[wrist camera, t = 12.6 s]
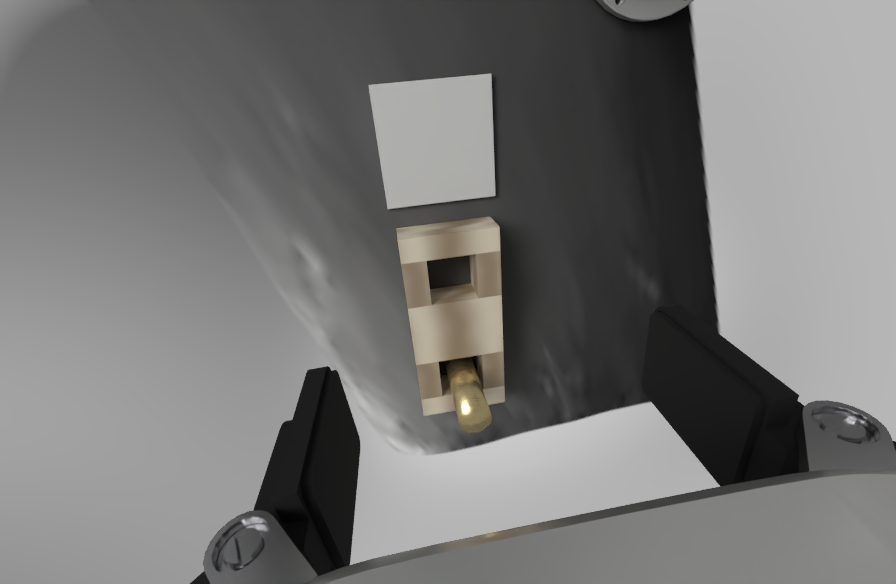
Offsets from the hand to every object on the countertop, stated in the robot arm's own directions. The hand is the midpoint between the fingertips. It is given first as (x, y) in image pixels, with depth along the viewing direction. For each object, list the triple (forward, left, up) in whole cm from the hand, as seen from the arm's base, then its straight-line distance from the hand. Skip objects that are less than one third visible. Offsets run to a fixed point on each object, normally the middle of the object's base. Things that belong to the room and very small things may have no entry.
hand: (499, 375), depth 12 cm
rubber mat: (-2, -4, -27) cm, 28 cm away
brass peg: (-2, +19, -27) cm, 33 cm away
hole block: (-2, +13, -27) cm, 31 cm away
